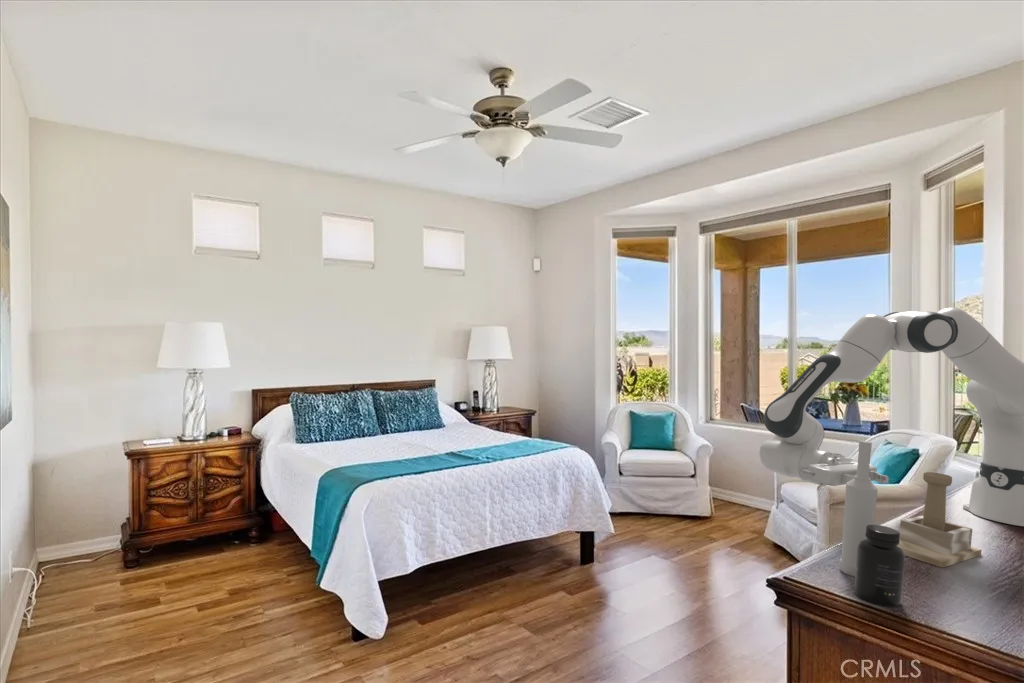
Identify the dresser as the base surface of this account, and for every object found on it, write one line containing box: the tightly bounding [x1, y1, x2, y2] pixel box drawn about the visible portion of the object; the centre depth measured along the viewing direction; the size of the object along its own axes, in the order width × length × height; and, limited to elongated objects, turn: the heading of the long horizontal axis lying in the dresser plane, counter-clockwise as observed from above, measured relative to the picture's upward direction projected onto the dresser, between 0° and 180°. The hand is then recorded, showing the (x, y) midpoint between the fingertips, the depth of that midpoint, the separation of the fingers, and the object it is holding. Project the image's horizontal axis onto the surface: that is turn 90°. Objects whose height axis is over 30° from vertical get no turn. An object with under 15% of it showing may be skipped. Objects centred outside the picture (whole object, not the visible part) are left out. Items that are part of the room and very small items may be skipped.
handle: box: [922, 471, 953, 531], centre depth 126 cm, size 5×6×15 cm
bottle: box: [838, 440, 879, 577], centre depth 109 cm, size 5×5×25 cm
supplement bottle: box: [854, 524, 906, 608], centre depth 98 cm, size 7×7×12 cm
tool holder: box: [897, 514, 983, 569], centre depth 124 cm, size 18×12×6 cm, turn 121°
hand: (876, 481), depth 136 cm, fingers open, 8 cm apart
